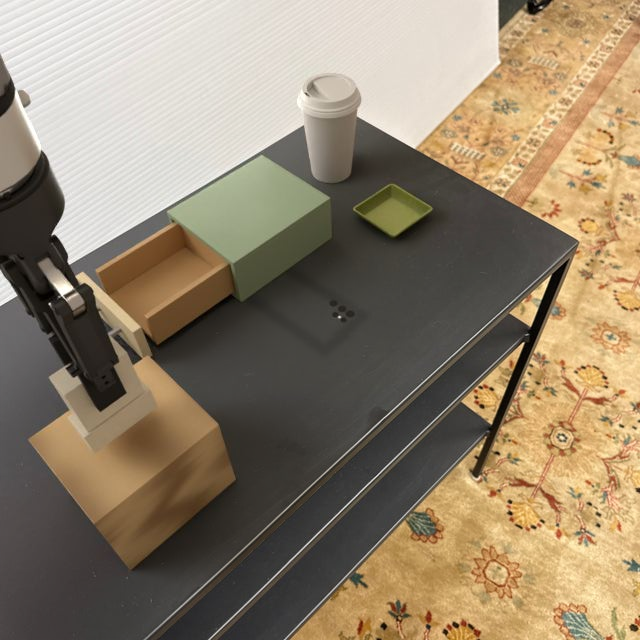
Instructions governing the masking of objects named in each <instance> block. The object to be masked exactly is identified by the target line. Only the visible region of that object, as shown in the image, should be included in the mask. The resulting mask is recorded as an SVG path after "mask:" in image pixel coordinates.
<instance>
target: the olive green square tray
mask: <svg viewBox="0 0 640 640" xmlns="http://www.w3.org/2000/svg"><path fill="white" fill-rule="evenodd" d="M352 210H353V212H354V213H355V214H356V215H357V216H359V217H360V218H362V219H364V221H366V222H368V223H370V224H371V225H372V226H374V227H375V228H377V229H378V230H379V231H382V233H385V234H386V235H387V236H389V237H391V238H392V239H394V238H396V237H398V236H399V235H400V234H402V233H403V232H405V231H406V230H408V229H409V228H411V227H412V226H413V225H415V224H417V223H418V222H419V221H421V220H422V219H423V218H425V217H426V216H427V215H429V214H430V213H431V212H432V211H433V210H434V208H433V207H432V206H431V205H429V204H428V203H426V202H424V201H423V200H422V199H420V198H418V197H416V196H414V194H411V193H410V192H408V191H406V190H405V189H403V188H402V187H400V186H399V185H396V184H395V183H390V184H387V185H386V186H384V187H383V188H382V189H380V190H378V191H377V192H375V193H374V194H372V195H370V196H369V197H367V198H366V199H365V200H363V201H361V202H359V203H358V204H357V205H355V206H354V207H352Z"/></svg>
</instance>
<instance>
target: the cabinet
mask: <svg viewBox="0 0 640 640" xmlns="http://www.w3.org/2000/svg"><path fill="white" fill-rule="evenodd" d="M166 214H167V219H168V222H169V225H170V224H172V223H173V222H176V223H178V224H179V225H180V226H181V227H183V228H184V229H185V230H187V231H188V232H189V233H190V234H192V235H193V236H194V237H196V238H197V239H198V240H199V241H201V242H202V243H203V244H205V245H206V246H207V247H208V248H210V249H211V250H212V251H214V252H215V253H216V254H217V255H219V256H220V257H221V258H223V259H224V260H225V261H226V262H228V263H229V264H230V265H231V270H232V274H233V279H234V284H235V289H236V290H235V291H234V292H233V293H231V294H230V295H231V296H232V297H234V298H235V299H236V300H238V302H240V303H242V302H244V301H245V300H247V299H248V298H250V297H251V296H252V295H254V294H255V293H257V292H258V291H260V290H261V289H263V288H264V287H265V286H266V285H268V284H269V283H271V282H272V281H274V280H275V279H276V278H278V277H279V276H280V275H282V274H284V272H286V271H287V270H289V269H290V268H292V267H293V266H295V265H296V264H297V263H299V262H300V261H302V260H303V259H304V258H306V257H307V256H309V255H310V254H311V253H312V252H314V251H315V250H317V249H318V248H319V247H320V248H321V246H322V245H324V244H325V243H327V242H328V241H330V240H331V239H333V230H332V227H333V226H332V201H331V197H330V196H328V195H327V194H325V193H324V192H323V191H320V190H319V189H317V188H316V187H315V186H312V185H311V184H309V183H308V182H306V181H304V180H303V179H301V178H299V177H298V176H297V175H295V174H294V173H292V172H290V171H288V170H287V169H286V168H283V166H281V165H279V164H277V163H275V162H274V161H272V160H271V159H270V158H268V157H266V156H265V155H263V154H261V155H259V156H258V157H256V158H255V159H252V160H251V161H248V163H246V164H245V165H242V166H241V167H239V168H237V169H236V170H234V171H233V172H231V173H229V174H228V175H225V176H224V177H222V178H221V179H219V180H218V181H215V182H214V183H213V184H210V185H209V186H208V187H206V188H204V189H202V190H200V191H198V192H197V193H195V194H194V195H192V196H190V197H189V198H187V199H186V200H184V201H182V202H180V203H179V204H177V205H175V206H174V207H172V208H170V209H169V210H167V211H166Z"/></svg>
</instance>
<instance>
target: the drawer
mask: <svg viewBox="0 0 640 640" xmlns="http://www.w3.org/2000/svg"><path fill="white" fill-rule="evenodd" d="M95 274H96V277H98V280H99V282H100V284H101V287H102V288H101V287H100V286H99V285H98V284H97V283H95V281H93V279H92V278H90V277H89V276H88V275H87V274H86V273H85V272H84V271H81V272H79V273H78V274H77V275H75V276H76V278H77V280H78V282H79V284H83V283H86V284H88V285H89V286H90V287H91V288H92V289H93V291H94V295H95V299H96V307H97V309H98V312H99V314H100V316H101V319H102V321H103V322H105V323H106V324H107V325H108V326H109V327H110V328H111V329H112V330H110V331H109V332H107V333H108V335H109V336H111V337H112V338H113V339H114V338H115V337H116V336H117V335H118V336H119V337H120V338H121V339H122V340H123V341H124V342H125V344H127V345H128V346H129V347H130V348H131V349H132V350H133V351H134V352H135V353H136V354H137V355H138V356H139V357H140V358H141V360H142V359H143V358H145V357H146V356H149V357H150V358H151V357H153V353H152V351H151V348H150V346H149V343H148V341H147V338H146V336H147V337H148V338H149V339H150V340H151V341H152V342H154V343H155V344H156V345H157V346H159V344H160V345H161V343H162V342H164V341H166V340H167V339H168V338H170V337H172V336H173V335H175V334H176V333H177V332H178V331H180V330H181V329H183V328H184V327H185V326H187V325H189V324H190V323H191V322H193V321H194V320H195V319H197V318H198V317H199V316H201V315H203V314H204V313H205V312H207V311H208V310H210V309H212V308H213V307H214V306H215V305H217V304H218V303H220V302H221V301H223V300H224V299H225V298H227V297H228V296H230V295H232V294H231V293H233V292H234V291H235V290H236V289H235V284H234V279H233V274H232V270H231V265H230V264H229V263H228V262H226V261H225V260H224V259H223V258H221V257H220V256H219V255H217V254H216V253H215V252H214V251H212V250H211V249H210V248H208V247H207V246H206V245H205V244H203V243H202V242H201V241H199V240H198V239H197V238H196V237H194V236H193V235H192V234H190V233H189V232H188V231H187V230H185V229H184V228H183V227H181V226H180V225H179V224H178V223H176V222H173V223H172V224H170V223H169V225H167V226H164V227H163V228H162V229H159V230H158V231H157V232H155V233H154V234H152V235H150V236H148V237H147V238H145V239H143V240H142V241H140V242H139V243H137V244H135V245H134V246H132V247H131V248H129V249H127V250H125V251H124V252H122V253H121V254H119V255H117V256H116V257H114V258H112V259H111V260H109V261H108V262H106V263H104V264H102V265H101V266H99V267H98V268H95ZM145 335H146V336H145Z"/></svg>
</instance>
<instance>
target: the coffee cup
mask: <svg viewBox="0 0 640 640" xmlns="http://www.w3.org/2000/svg"><path fill="white" fill-rule="evenodd" d="M362 101H363V100H362V94H361V91H360V89H359V88H358V86H357V84H356V82H355V81H354V80H353V79H352V78H351V77H349V76H347V75H346V74H342V73H337V72H336V73H335V72H326V73H325V72H324V73H319V74H316V75H313V76H310V77H309V78H308V79H306V80H305V81H304V82H303V84H302V86H301V89H300V90H299V93H298V95H297V100H296V104H297V106H298V108H299V109H300V111H301V115H302V122H303V127H304V132H305V133H304V134H305V139H306V140H305V141H306V144H307V151H308V157H309V163H310V170H311V174H312V177H313V178H314V179H316V180H317V181H319V182H321V183H325V184H337V183H340V182H343V181H345V180H346V179H348V178H349V177H350V176H351V174H352V169H353V168H352V167H353V157H354V149H355V148H354V146H355V137H356V126H357V120H358V119H357V118H358V111H359V110H358V108H359V107H360V106H361V104H362Z"/></svg>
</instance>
